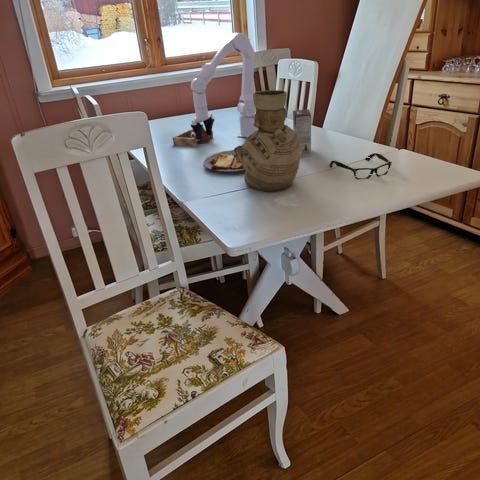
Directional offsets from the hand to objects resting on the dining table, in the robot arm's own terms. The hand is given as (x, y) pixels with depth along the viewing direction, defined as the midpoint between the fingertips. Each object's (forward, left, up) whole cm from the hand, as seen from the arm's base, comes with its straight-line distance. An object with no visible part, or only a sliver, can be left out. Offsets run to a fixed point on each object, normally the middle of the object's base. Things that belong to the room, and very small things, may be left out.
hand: (204, 137), depth 194 cm
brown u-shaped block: (+6, 0, -2) cm, 6 cm away
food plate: (-30, +25, -3) cm, 39 cm away
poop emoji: (+3, 0, -3) cm, 4 cm away
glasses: (-77, +19, -3) cm, 79 cm away
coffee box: (-50, +5, -3) cm, 50 cm away
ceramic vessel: (-53, +41, -3) cm, 67 cm away
